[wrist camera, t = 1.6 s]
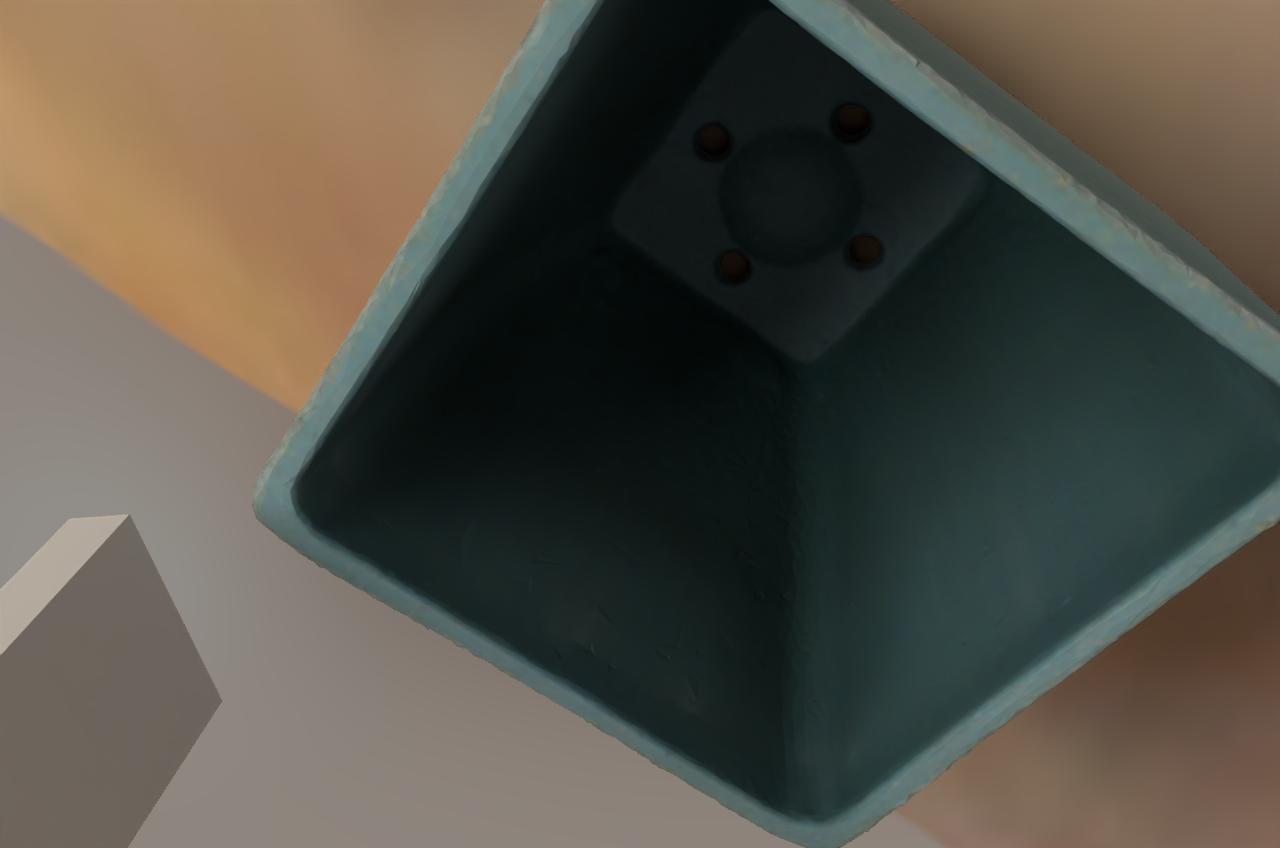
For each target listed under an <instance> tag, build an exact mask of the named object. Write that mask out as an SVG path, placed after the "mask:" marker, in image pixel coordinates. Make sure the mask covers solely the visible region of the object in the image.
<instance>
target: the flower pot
mask: <svg viewBox="0 0 1280 848" xmlns="http://www.w3.org/2000/svg"><path fill="white" fill-rule="evenodd" d="M847 105H855V106H859V107H862V108H863V109H864V110H865V112H866V113H867V115H868V124H867V126H866V128H865V129H864V131H863V132H861V133H858V134H855V135H848V134H845V133H844V132H842V131H841V130H840V129H839V127H838V125H837V122H836V118H837V114H838V112H839V110H841V109H842V108H843V107H845V106H847ZM712 126H717V127H720V128H722V129H723V130H725V131H726V132H727V134H728V136H729V141H730V144H729V146H728V148H727V150H726V151H725V152H724V153H723V154H720V155H709V154H707V153H706V152H705V151H704V150H703V149H702V148H701V146H700V136H701V134H702V132H703V131H704V130H705V129H707V128H709V127H712ZM861 236H870V237H873V238H875V239H876V240H877V241H878V242H879V244H880V254H879V255H878V257H877V258H876V259H874V260H873V261H870V262H867V263H863V262H858V261H856V260H854V259H853V258H852V256H851V254H850V251H849V250H850V245H851V243H852V241H853V240H855V239H856V238H858V237H861ZM730 252H737V253H740V254H742V255H743V256H745V257H746V258H747V259H748V261H749V264H750V266H749V270H748V272H747V274H746V275H744V276H742V277H741V278H736V279H732V278H729V277H727V276H725V275H724V274H723V273H722V272H721V269H720V259H721V258H722V256H723V255H725V254H727V253H730ZM252 506H253V509H254V512H255V516H256V519H257V520H259V521H260V522H261V523H262V524H263V525H264V526H266V527H267V528H268V529H270V530H271V531H272V532H273V533H274V534H276V535H277V536H278V537H279V538H280V539H281V540H283V541H284V542H285V543H287V544H288V545H290V546H291V547H293V548H294V549H295V550H296V551H297V552H299V553H300V554H301V555H303V556H305V557H307V558H308V559H310V560H311V561H313V562H315V563H316V564H317V565H318V566H319V567H321V568H325V569H327V570H328V571H329V572H330V573H332V574H333V575H335V576H337V577H339V578H341V579H343V580H345V581H346V582H348V583H350V584H351V585H353V586H354V587H356V588H358V589H360V590H362V591H364V592H366V593H367V594H369V595H370V596H371V597H373V598H374V599H376V600H378V601H380V602H382V603H384V604H386V605H388V606H390V607H391V608H393V609H394V610H396V611H398V612H400V613H402V614H404V615H406V616H408V617H409V618H411V619H412V620H413V621H415V622H418V623H420V624H422V625H423V626H425V627H426V628H427V629H432V630H433V631H435V632H436V633H438V634H440V635H441V636H443V637H445V638H447V639H449V640H451V641H452V642H453V643H454V644H455V645H456V646H458V647H462V648H465V649H467V650H468V651H469V652H471V653H472V654H473V655H474V656H476V657H479V658H481V659H484V660H485V661H487V662H489V663H491V664H492V665H493V666H495V667H496V668H498V669H499V670H500V671H502V672H504V673H506V674H507V675H509V676H510V677H512V678H514V679H517V680H518V681H520V682H522V683H524V684H525V685H527V686H529V687H530V688H532V689H533V690H535V691H536V692H538V693H539V694H542V695H544V696H546V697H547V698H549V699H550V700H551V701H553V702H555V703H557V704H559V705H561V706H563V707H564V708H566V709H568V710H570V711H571V712H573V713H575V714H576V715H578V716H580V717H582V718H583V719H584V720H585V721H586V722H588V723H591V724H592V725H593V726H595V727H596V728H598V729H599V730H600V731H602V732H604V733H606V734H608V735H610V736H612V737H614V738H616V739H618V740H619V741H620V742H622V743H623V744H625V745H626V746H628V747H629V748H630V749H632V750H634V751H636V752H637V753H638V754H640V755H642V756H643V757H645V758H647V759H649V760H650V762H651V763H652V764H655V765H657V766H658V767H659V768H661V769H664V770H666V771H667V772H670V773H672V774H673V775H675V776H677V777H679V778H680V779H682V780H683V781H684V782H686V783H687V784H689V785H690V786H692V787H693V788H695V789H697V790H698V791H700V792H702V793H704V794H705V795H707V796H709V797H711V798H713V799H715V800H716V801H718V802H719V803H720V804H721V805H722V806H724V807H726V808H728V809H729V810H732V811H734V812H736V813H737V814H738V815H740V816H741V817H743V818H745V819H747V820H749V821H750V822H752V823H754V824H755V825H757V826H759V827H761V828H762V829H764V830H765V831H767V832H769V833H770V834H773V835H775V836H777V837H780V838H782V839H785V840H787V841H789V842H792V843H795V844H798V845H800V846H803V847H805V848H840V847H842V846H844V845H845V844H847V843H848V842H851V841H852V840H854V839H855V838H857V837H858V836H860V835H862V834H863V833H864V832H868V831H869V830H870V829H871V828H872V827H873V826H875V825H876V824H877V823H878V821H880V820H881V819H883V818H884V817H885V816H887V815H889V814H890V813H891V812H892V811H893V810H895V809H896V808H898V807H900V806H902V805H904V804H905V803H906V802H907V801H908V800H909V799H910V798H911V797H912V796H913V795H914V794H916V793H917V792H919V791H920V790H922V789H923V788H925V787H926V786H927V785H929V784H930V783H932V782H933V781H934V780H935V779H936V778H937V777H938V776H939V775H940V774H942V773H943V772H945V771H946V770H948V769H949V768H950V766H951V765H952V764H953V763H954V762H955V761H956V760H957V759H959V758H961V757H963V756H965V755H967V754H968V753H969V752H970V751H971V750H972V749H973V748H974V747H975V746H976V745H978V744H979V743H980V742H981V741H982V740H984V739H985V738H986V737H988V736H989V735H991V734H993V733H994V732H995V731H997V730H998V729H999V728H1001V727H1002V726H1003V725H1005V724H1006V723H1007V722H1009V721H1010V720H1011V719H1012V718H1014V717H1015V716H1016V715H1018V714H1019V713H1020V712H1021V711H1022V710H1023V709H1025V708H1026V707H1027V706H1029V705H1031V704H1033V703H1034V701H1035V700H1036V699H1037V698H1039V697H1041V696H1042V695H1044V694H1046V693H1048V692H1049V691H1050V690H1051V689H1052V688H1053V687H1055V686H1056V685H1057V684H1059V683H1060V682H1062V681H1063V680H1064V679H1066V678H1067V677H1068V676H1070V675H1071V674H1073V673H1074V672H1075V671H1076V670H1078V669H1079V668H1080V667H1081V666H1083V665H1084V664H1085V663H1086V662H1088V661H1089V660H1090V659H1092V658H1093V657H1095V656H1096V655H1098V654H1099V653H1100V652H1102V651H1103V650H1104V649H1105V648H1106V647H1107V646H1108V645H1110V644H1111V643H1113V642H1115V641H1116V640H1117V639H1119V638H1120V637H1121V636H1122V635H1123V634H1125V633H1126V632H1128V631H1129V630H1131V629H1132V628H1134V627H1135V626H1136V625H1138V624H1139V623H1140V622H1141V621H1143V620H1144V619H1145V618H1147V617H1148V616H1150V615H1151V614H1152V613H1154V612H1155V611H1156V610H1157V609H1158V608H1160V607H1161V606H1163V605H1164V604H1165V603H1166V602H1167V601H1168V600H1170V599H1171V598H1172V597H1174V596H1175V595H1177V594H1178V593H1179V592H1181V591H1182V590H1184V589H1185V588H1187V587H1188V586H1190V585H1191V584H1193V583H1194V582H1195V581H1197V580H1198V579H1199V578H1200V577H1202V576H1203V575H1204V574H1205V573H1207V572H1208V571H1209V570H1211V569H1212V568H1213V567H1214V566H1216V565H1217V564H1219V563H1220V562H1222V561H1224V560H1225V559H1227V558H1228V557H1230V556H1231V555H1232V554H1233V553H1235V552H1236V551H1237V550H1239V549H1240V548H1241V547H1242V546H1244V545H1245V544H1246V543H1248V542H1249V541H1251V540H1253V539H1254V538H1255V537H1257V536H1258V535H1259V534H1260V533H1262V532H1263V531H1265V530H1267V529H1269V528H1271V527H1273V526H1274V525H1275V524H1277V523H1278V522H1279V521H1280V315H1278V314H1277V313H1276V312H1275V311H1274V310H1273V309H1272V308H1271V307H1270V306H1269V305H1267V304H1266V303H1265V302H1264V301H1263V300H1262V299H1261V298H1260V297H1259V296H1258V295H1256V294H1255V293H1254V292H1253V291H1252V290H1251V289H1250V288H1249V287H1248V286H1247V285H1245V284H1244V283H1243V282H1242V281H1241V280H1240V279H1239V278H1238V277H1237V276H1236V275H1234V274H1233V273H1232V272H1231V271H1230V270H1229V269H1228V268H1227V267H1226V266H1225V265H1224V264H1223V263H1222V262H1221V261H1219V260H1218V259H1217V258H1216V257H1215V256H1214V255H1213V254H1212V253H1211V252H1210V251H1209V250H1208V249H1207V248H1206V247H1205V246H1204V245H1202V244H1201V243H1200V242H1199V241H1198V240H1197V239H1196V238H1194V237H1193V236H1192V235H1191V234H1190V233H1189V232H1187V231H1186V230H1185V229H1184V228H1183V227H1181V226H1180V225H1179V224H1178V223H1177V222H1176V221H1174V220H1173V219H1172V218H1171V217H1169V216H1168V215H1167V214H1165V213H1164V212H1163V211H1162V210H1160V209H1159V208H1158V207H1156V206H1155V205H1154V204H1153V203H1151V202H1150V201H1149V200H1147V199H1146V198H1145V197H1143V196H1142V195H1141V194H1140V193H1138V192H1137V191H1136V190H1134V189H1133V188H1132V187H1130V186H1129V185H1128V184H1126V183H1125V182H1124V181H1123V180H1121V179H1120V178H1119V177H1117V176H1116V175H1115V174H1113V173H1112V172H1111V171H1110V170H1108V169H1107V168H1106V167H1104V166H1103V165H1102V164H1100V163H1099V162H1098V161H1096V160H1095V159H1094V158H1093V157H1091V156H1090V155H1089V154H1087V153H1086V152H1085V151H1083V150H1082V149H1081V148H1080V147H1078V146H1077V145H1076V144H1074V143H1073V142H1072V141H1070V140H1069V139H1068V138H1067V137H1065V136H1064V135H1063V134H1061V133H1060V132H1059V131H1057V130H1056V129H1055V128H1054V127H1052V126H1051V125H1050V124H1048V123H1047V122H1046V121H1044V120H1043V119H1042V118H1040V117H1039V116H1038V115H1037V114H1035V113H1034V112H1033V111H1031V110H1030V109H1029V108H1027V107H1026V106H1025V105H1024V104H1022V103H1021V102H1020V101H1018V100H1017V99H1016V98H1014V97H1013V96H1012V95H1011V94H1009V93H1008V92H1007V91H1005V90H1004V89H1003V88H1001V87H1000V86H999V85H998V84H996V83H995V82H994V81H992V80H991V79H990V78H989V77H987V76H986V75H985V74H983V73H982V72H981V71H980V70H978V69H977V68H976V67H974V66H973V65H972V64H970V63H969V62H968V61H967V60H965V59H964V58H963V57H961V56H960V55H959V54H958V53H956V52H955V51H954V50H952V49H951V48H950V47H949V46H947V45H946V44H945V43H943V42H942V41H941V40H939V39H938V38H937V37H936V36H934V35H933V34H932V33H930V32H929V31H928V30H927V29H925V28H924V27H923V26H921V25H920V24H919V23H918V22H916V21H915V20H914V19H912V18H911V17H910V16H908V15H907V14H906V13H905V12H903V11H902V10H901V9H899V8H898V7H897V6H896V5H894V4H893V3H892V2H890V1H889V0H545V2H544V4H543V6H542V8H541V9H540V11H539V13H538V15H537V16H536V18H535V20H534V22H533V24H532V25H531V27H530V29H529V31H528V32H527V34H526V36H525V38H524V39H523V41H522V43H521V45H520V46H519V48H518V50H517V52H516V53H515V55H514V57H513V58H512V59H511V60H510V62H509V65H508V66H507V68H506V69H505V71H504V72H503V74H502V75H501V78H500V80H499V83H498V85H497V86H496V88H495V89H494V91H493V93H492V94H491V96H490V98H489V99H488V101H487V102H486V104H485V106H484V107H483V109H482V110H481V112H480V113H479V115H478V117H477V118H476V120H475V122H474V124H473V126H472V128H471V129H470V131H469V133H468V135H467V137H466V139H465V140H464V142H463V143H462V145H461V146H460V148H459V150H458V152H457V154H456V156H455V157H454V159H453V160H452V162H451V163H450V165H449V166H448V168H447V170H446V171H445V173H444V175H443V176H442V178H441V180H440V181H439V183H438V185H437V187H436V188H435V190H434V192H433V193H432V195H431V197H430V199H429V201H428V203H427V204H426V206H425V207H424V209H423V212H422V214H421V216H420V218H419V219H418V220H417V221H416V222H415V223H414V225H413V227H412V229H411V231H410V233H409V234H408V236H407V237H406V239H405V241H404V242H403V244H402V245H401V246H400V248H399V249H398V251H397V253H396V255H395V257H394V259H393V260H392V262H391V263H390V265H389V267H388V268H387V270H386V271H385V273H384V274H383V276H382V277H381V279H380V281H379V283H378V285H377V286H376V288H375V290H374V291H373V293H372V295H371V296H370V298H369V300H368V302H367V304H366V305H365V307H364V309H363V310H362V312H361V314H360V315H359V317H358V318H357V320H356V322H355V323H354V325H353V326H352V328H351V329H350V331H349V333H348V335H347V337H346V338H345V339H344V341H343V342H342V344H341V346H340V348H339V349H338V351H337V353H336V354H335V356H334V357H333V359H332V361H331V362H330V364H329V365H328V367H327V369H326V370H325V372H324V373H323V375H322V377H321V378H320V380H319V382H318V383H317V385H316V387H315V388H314V389H313V391H312V394H311V396H310V397H309V399H308V400H307V402H306V403H305V405H304V406H303V408H302V410H301V411H300V413H299V415H298V416H297V418H296V419H295V421H294V422H293V424H292V425H291V427H290V428H289V430H288V431H287V433H286V435H285V437H284V438H283V440H282V442H281V443H280V445H279V446H278V448H277V449H276V450H275V452H274V454H273V455H272V457H271V458H270V459H269V461H268V462H267V464H266V466H265V468H264V470H263V472H262V474H261V476H260V478H259V479H258V481H257V483H256V485H255V489H254V492H253V504H252Z"/></svg>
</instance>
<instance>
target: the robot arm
mask: <svg viewBox="0 0 1280 848" xmlns="http://www.w3.org/2000/svg"><path fill="white" fill-rule="evenodd" d="M221 702H222V699H221V697H220V695H219V693H218V691H217V689H216V687H215V685H214V683H213V681H212V679H211V677H210V675H209V673H208V671H207V669H206V667H205V665H204V663H203V661H202V659H201V657H200V655H199V653H198V651H197V649H196V647H195V645H194V643H193V641H192V639H191V637H190V635H189V633H188V631H187V629H186V627H185V625H184V623H183V621H182V619H181V617H180V615H179V613H178V611H177V609H176V607H175V605H174V603H173V601H172V599H171V597H170V595H169V593H168V591H167V589H166V587H165V585H164V582H163V581H162V579H161V576H160V574H159V572H158V570H157V568H156V567H155V564H154V562H153V560H152V558H151V556H150V554H149V552H148V550H147V548H146V546H145V544H144V542H143V540H142V538H141V536H140V534H139V532H138V530H137V528H136V526H135V524H134V522H133V520H132V518H131V516H130V514H126V515H113V516H100V517H88V518H75V519H69V520H68V521H67V522H66V523H65V524H64V525H63V526H62V527H61V528H60V529H59V530H58V531H57V532H56V533H55V534H54V535H53V536H52V537H51V538H50V539H49V540H48V541H47V543H46V544H45V545H44V546H42V548H40V549H39V551H38V552H37V553H36V554H35V555H34V556H33V557H32V558H31V559H30V560H29V561H28V562H27V563H26V564H25V565H24V566H23V567H22V568H21V569H20V570H19V571H18V572H17V573H16V574H15V575H14V576H13V577H12V578H11V579H10V580H9V581H8V582H7V583H6V584H5V585H4V586H3V587H2V588H1V589H0V848H128V846H129V844H130V843H131V841H132V840H133V838H134V837H135V835H136V834H137V832H138V830H139V829H140V827H141V826H142V824H143V823H144V821H145V820H146V818H147V817H148V815H149V813H150V812H151V810H152V809H153V807H154V806H155V804H156V803H157V801H158V799H159V798H160V796H161V795H162V793H163V792H164V790H165V789H166V787H167V786H168V784H169V783H170V781H171V779H172V778H173V776H174V775H175V773H176V771H177V770H178V769H179V767H180V765H181V764H182V762H183V761H184V759H185V758H186V756H187V754H188V753H189V752H190V750H191V748H192V747H193V745H194V744H195V742H196V741H197V739H198V738H199V736H200V734H201V733H202V731H203V730H204V728H205V727H206V725H207V724H208V722H209V721H210V719H211V717H212V716H213V714H214V713H215V711H216V710H217V708H218V707H219V705H220V703H221Z"/></svg>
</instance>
